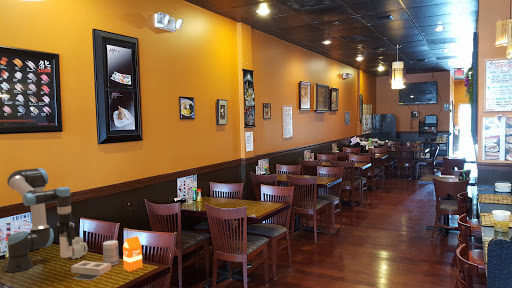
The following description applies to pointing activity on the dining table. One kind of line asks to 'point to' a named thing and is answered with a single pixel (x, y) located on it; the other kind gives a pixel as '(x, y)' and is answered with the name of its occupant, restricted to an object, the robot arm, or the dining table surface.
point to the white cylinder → (64, 246)
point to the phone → (86, 277)
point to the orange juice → (132, 253)
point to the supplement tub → (111, 252)
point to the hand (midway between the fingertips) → (66, 250)
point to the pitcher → (78, 248)
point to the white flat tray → (91, 268)
